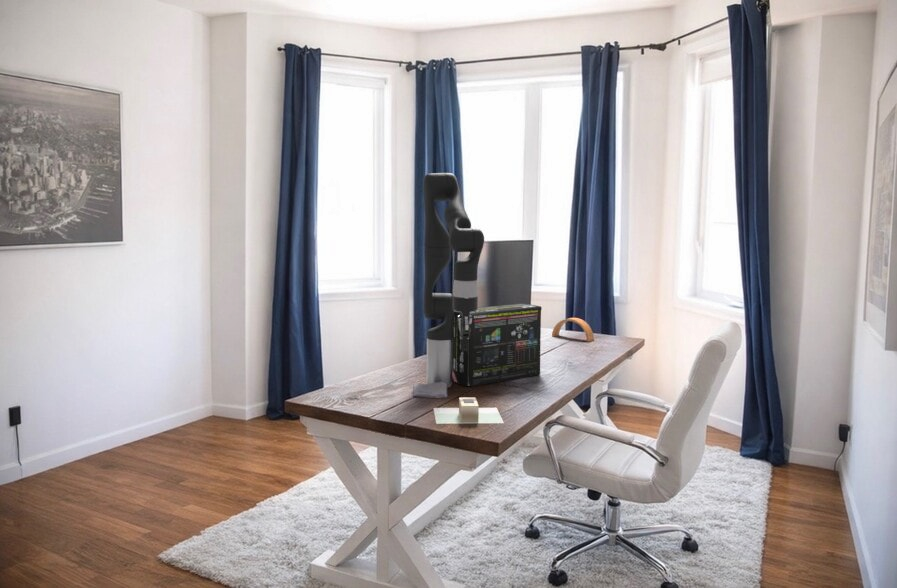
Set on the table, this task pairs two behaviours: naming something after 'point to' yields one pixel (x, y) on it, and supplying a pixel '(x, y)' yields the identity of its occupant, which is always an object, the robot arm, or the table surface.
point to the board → (453, 418)
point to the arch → (579, 321)
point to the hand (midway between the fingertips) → (464, 350)
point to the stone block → (430, 390)
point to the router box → (498, 345)
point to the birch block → (468, 409)
